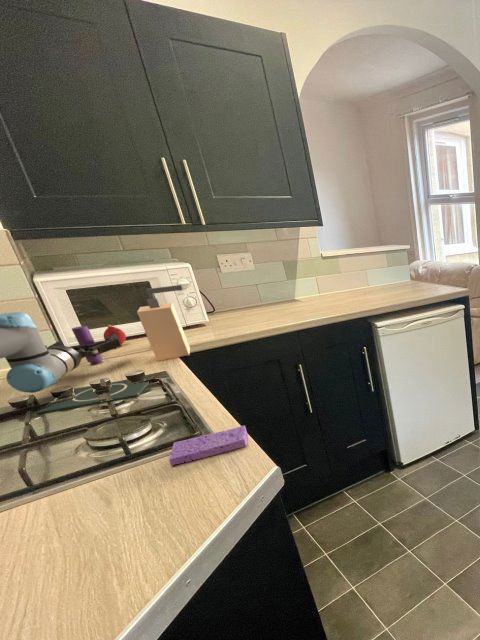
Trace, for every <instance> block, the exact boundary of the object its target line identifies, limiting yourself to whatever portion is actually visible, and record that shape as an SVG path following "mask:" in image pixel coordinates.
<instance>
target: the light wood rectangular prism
mask: <svg viewBox="0 0 480 640" xmlns="http://www.w3.org/2000/svg"><path fill="white" fill-rule="evenodd" d="M183 290H184V289H183V286H182V284H175V285H167V286H159V287H151V288H146V289H145V291H146V294H147V297H148V299H146V302H147V304H148V305H145V306H140V307H139V308H138V310H137V311H136V313H137V315H138V318H139V321H140V323H141V325H142V328H143V330H144V333H145V332H146V333H145V335H146V338H147V337H148V338H147V340H148V342H149V344H151V345H150V347H151V349H152V352H153V354H154V356H155V358H156V361H157V362H160V361H166V360H171V359H174V358H175V359H176V358H182V357H187V356H190V354H191V353H190V352H191V348H190V345H189V341H188V339H187V337H186V334H185V331H184V328H183V326H182V324H181V321H180V319H179V315H178V313H177V311H176V308H175V305H174V303H173V302H168V303H160V301H159V298H158V297H155V296H154V294H162V293H168V292H169V293H170V292H177V291H183Z"/></svg>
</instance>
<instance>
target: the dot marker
mask: <svg viewBox="0 0 480 640" xmlns="http://www.w3.org/2000/svg"><path fill="white" fill-rule="evenodd" d="M71 331H72V333H73V335H74V337H75V339H76V341H77V343H78V346H80V345H90V344H94V343H96V342H95V339H94V337H93V335H92V333H91V331H90V329H89V326H88V325H79V326H75V327H72V328H71ZM80 349H83V348H80ZM85 360H86V361H87V363H90V365H91V366H94V365H99V364H102V363H103V356H102V354H100V355H98V356H96V357H93V356H92V355H91V356H88V357H85Z"/></svg>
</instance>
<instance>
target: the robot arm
mask: <svg viewBox="0 0 480 640" xmlns="http://www.w3.org/2000/svg"><path fill="white" fill-rule="evenodd" d="M38 329H39V328H38V327H37V325H36V324H35V322H34V321H33V319H32V318H31V317H30V315H29V314H28V313H26V312H22V311H14V312H5V313H0V359H4V358H5V360H6V362H7V363H8V365H9V368H10V369H9V370H8V371H7V373H6V382H7V384H8V385H9V386H10V387H11V388H12V389H15V390H16V391H18V392H22V393H27V394H28V393H29V394H33V393H39V392H41V391H43V390H45V389H47V388H50V387H52V386H53V385H55V383H56V382H58V381H59V380H62V378H63V377H65V376H66V375H67V374H69V373H71V372H72V371H73V370H75V369H77V368H78V367H79V365H80V364H81V361H82V359H84V358H85V359H86V357H88V356H91V355H92V356H93V357H96V356H98V355H100V354H101V355H102V354H105V353H107V352H110V351H113V350H117V348H120V347H122V345H121V343H120V341H119V339H118V337H117V335H116V334H112V335H111V336H109V337H108V338H106V339H104V340H101V341H98V342H95V343H94V344H90V345H77V346H68V345H67V346H66V345H65V344H64V342H63V340H58V341H56V342H54V343H53V344H51V345H49V346H47V344H45V342H44V340H43V338H42V336H41V334H40V332H39V330H38ZM81 348H83V349H81Z"/></svg>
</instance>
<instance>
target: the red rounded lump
mask: <svg viewBox="0 0 480 640" xmlns="http://www.w3.org/2000/svg"><path fill="white" fill-rule="evenodd" d="M106 327H107V328H106V329H105V330H104V332H103V340H105V339H106V338H108V337H109V336H111V335H112V334H116V335H117V337H118V339H119V341H120V343H121V346H122V345H123V344H124V343H125V341H126V340H127V335H126V333H125V332H124V330H122V329H120V328H119V327H116V326H113V325H111V324H107V326H106Z"/></svg>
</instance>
